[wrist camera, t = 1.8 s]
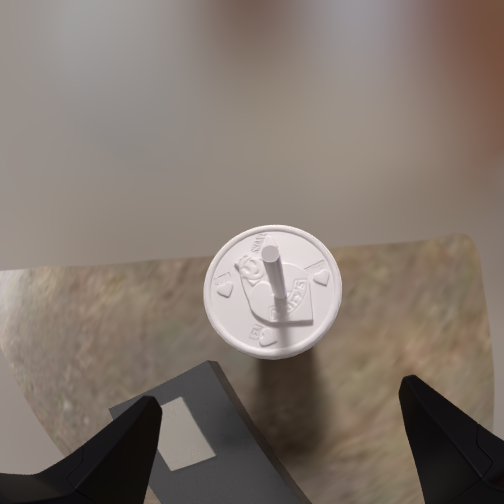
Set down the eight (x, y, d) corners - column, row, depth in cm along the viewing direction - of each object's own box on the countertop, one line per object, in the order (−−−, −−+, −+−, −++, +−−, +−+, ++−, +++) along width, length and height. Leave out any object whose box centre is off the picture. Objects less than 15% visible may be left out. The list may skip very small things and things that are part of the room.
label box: (329, 524, 12) (332, 540, 10) (227, 556, 12) (219, 571, 9) (217, 361, 20) (205, 360, 18) (125, 407, 19) (106, 409, 17)
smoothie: (285, 380, 19) (259, 402, 6) (226, 325, 21) (126, 254, 9) (341, 317, 20) (401, 230, 8) (280, 268, 23) (253, 138, 10)
